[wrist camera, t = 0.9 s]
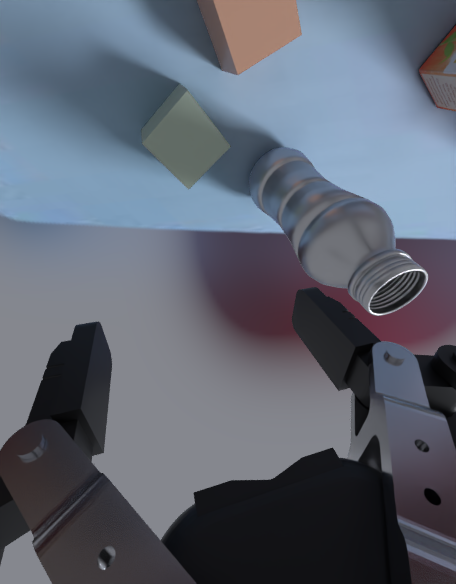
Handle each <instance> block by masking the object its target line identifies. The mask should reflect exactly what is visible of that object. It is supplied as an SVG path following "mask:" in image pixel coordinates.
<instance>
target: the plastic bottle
mask: <svg viewBox="0 0 456 584" xmlns="http://www.w3.org/2000/svg"><path fill="white" fill-rule="evenodd" d="M249 189H250V193H251V197H252V199H253V201H254V203H255V205H256V206H257V207H258V208H259V209H260V210H262V211H263V212H264V213H266V214H267V215H269V216H270V217H271V218H272V219H273V220H274V221H275V222H277V223H278V224H279V225H280V227H281V228H282V230H283V231H284V233H285V234H286V236H287V237H288V239H289V240H290V242H291V244H292V246H293V248H294V251H295V253H296V255H297V257H298V259H299V261H300V264H301V266H302V267H303V269H304V271H305V272H306V273H307V274H308V275H309V276H310V277H312V278H313V279H315V280H316V281H318V282H320V283H321V284H324V285H328V286H333V287H339V288H348V293H349V294H350V295H351V296H352V297H353V299H354V300H356V301H358V302H359V303H360V304H361V305H362V306H363V307H364V308H365V309H366V310H367V311H368V312H369V313H370V314H372V315H379V316H380V315H385V314H389V313H392V312H394V311H396V310H398V309H400V308H402V307H403V306H405V305H407V304H408V303H409V302H411V301H412V300H413V299H414V298H416V296H417V295H419V293H420V292H421V291H422V290H423V289H424V287H425V285H426V283H427V281H428V274H427V272H426V271H425V270H424V269H423V268H422V267H421V266H420V265H418V264H417V263H415V262H414V261H413V260H412V259H411V257H410V256H409V255H408V254H407V253H405V252H404V251H402V250H400V249H395V233H394V227H393V224H392V221H391V219H390V218H389V216H388V214H387V213H386V211H385V210H384V209H383V208H382V207H381V206H379V205H377V204H375V203H373V202H372V201H370V200H368V199H365V198H363V197H360V196H358V195H356V194H353V193H351V192H348V191H346V190H343V189H341V188H340V187H338V186H336V185H334V184H333V183H331V182H329V181H328V180H326V179H325V178H324V177H323V176H322V175H321V174H320V173H319V172H318V171H317V170H316V169H315V168H314V166H313V165H312V163H311V162H310V160H309V159H308V158H307V157H306V156H305V155H304V154H303V153H302V152H300V151H298V150H295V149H291V148H286V147H280V148H275V149H273V150H270V151H269V152H267V153H266V154H264V155H263V156H262V157H261V158H260V159H259V160H258V161H257V162H256V164H255V165H254V167H253V169H252V171H251V174H250V178H249Z"/></svg>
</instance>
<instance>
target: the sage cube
mask: <svg viewBox="0 0 456 584" xmlns="http://www.w3.org/2000/svg"><path fill="white" fill-rule="evenodd" d="M141 135H142V144H143V145H144V146H145V147H146V148H147V149H148V150H149V151H150V152H151V153H152V154H153V155H154V156H155V157H156V158H157V159H158V160H159V161H160V162H161V163H162V164H163V165H164V166H165V167H166V168H167V169H168V170H169V171H170V172H171V173H172V174H173V175H174V176H175V177H176V178H177V179H178V180H179V181H180V182H181V183H182V184H184V185H185V186H186V187H187V188H188V189H190V188H191V187H192V186H193V185H194V184H195V183H196V182H197V181H198V180H199V179H200V178H201V177H202V176H203V175H204V174H205V173H206V172H207V171H208V170H209V168H210V167H211V166H212V165H213V164H214V163H215V162H216V161H217V160H218V159H219V158H220V157H221V156H222V155H223V154H224V153H225V152H226V151H227V150H228V149H229V148H230V147H231V146H230V145H229V143H228V142H227V141H226V140H225V138H224V137H223V136H222V134H221V133H220V132H219V130H218V129H217V128H216V126H215V125H214V124H213V123H212V121H211V120H210V119H209V117H208V116H207V115H206V113H205V112H204V111H203V109H202V108H201V107H200V106H199V104H198V103H197V102H196V100H195V99H194V98H193V96H192V95H191V94H190V92H189V91H188V90H187V89H186V88H185V87H184V86H182V85H181V84H180V83H179V84H178V86H177V87H176V88H175V89H174V91H173V92H172V93H171V94H170V95H169V97H168V98H167V99H166V100H165V101H164V103H163V104H162V105H161V106H160V107H159V109H158V110H157V111H156V112H155V113H154V115H153V116H152V117H151V118H150V119H149V121H148V122H147V123H146V124H145V126H144V127H143V128H142V129H141Z"/></svg>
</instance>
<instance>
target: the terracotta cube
mask: <svg viewBox="0 0 456 584" xmlns="http://www.w3.org/2000/svg"><path fill="white" fill-rule="evenodd" d="M197 3H198V5H199V8H200V11H201V14H202V16H203V19H204V22H205V25H206V27H207V30H208V33H209V36H210V38H211V41H212V44H213V47H214V50H215V52H216V55H217V58H218V61H219V63H220V66H221V69H222V71H225V72H229V73H232V74H236V75H239V74H240V73H242V72H244V71H245V70H247V69H248V68H250V67H251V66H253V65H255V64H256V63H258V62H259V61H261V60H262V59H264V58H266V57H267V56H269V55H270V54H272V53H274V52H275V51H277V50H278V49H280V48H281V47H283V46H285V45H286V44H288V43H289V42H291V41H292V40H294V39H296V38H297V37H299V36H300V35H302V33H301V27H300V22H299V16H298V10H297V4H296V0H197Z"/></svg>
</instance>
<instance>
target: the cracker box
mask: <svg viewBox="0 0 456 584" xmlns="http://www.w3.org/2000/svg"><path fill="white" fill-rule="evenodd" d="M419 73H420V75H421V77H422V79H423V81H424V83H425V85H426V86H427V89H428V91H429V92H430V94H431V96H432V98H433V100H434V102H435V104H436V107H437V108H441V109H446V110H452V111H456V25H455V26H454V28H453V29H452V30H451V31H450V32H449V34H448V35H447V36H446V37H445V38H444V40H443V41H442V42H441V43H440V45H439V46H438V47H437V48H436V49H435V51H434V52H433V53H432V54H431V55H430V57H429V58H428V59H427V60H426V61H425V63H424V64H423V65H422V66H421V68H420V69H419Z"/></svg>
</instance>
